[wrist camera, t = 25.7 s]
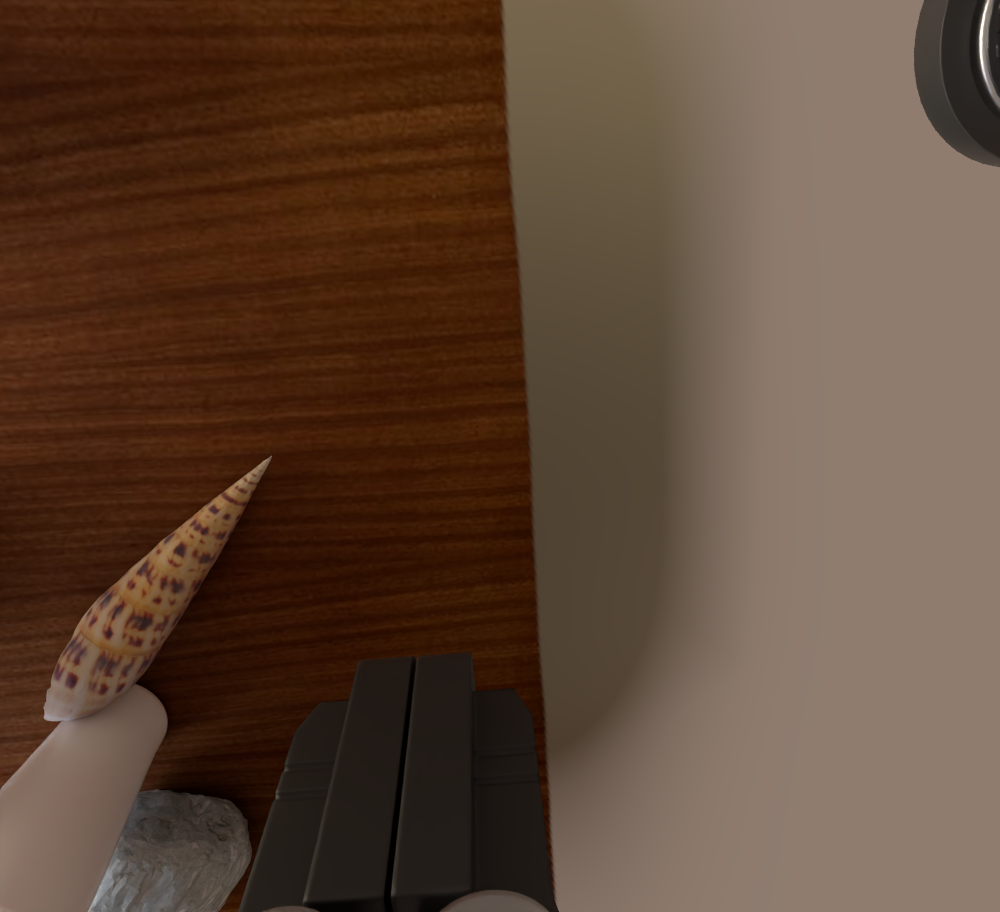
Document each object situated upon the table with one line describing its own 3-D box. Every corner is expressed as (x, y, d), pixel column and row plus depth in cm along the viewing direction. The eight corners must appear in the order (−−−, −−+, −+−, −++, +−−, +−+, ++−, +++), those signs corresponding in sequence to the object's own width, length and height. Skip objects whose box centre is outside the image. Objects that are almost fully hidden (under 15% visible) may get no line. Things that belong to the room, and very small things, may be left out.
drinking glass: (91, 765, 46) (-74, 1024, 32) (49, 676, 44) (-150, 914, 30) (198, 747, 46) (79, 1000, 32) (162, 656, 43) (15, 887, 29)
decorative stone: (130, 743, 46) (83, 824, 40) (280, 810, 48) (255, 894, 42) (47, 879, 49) (-7, 970, 44) (190, 934, 52) (156, 1027, 46)
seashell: (52, 649, 43) (1, 707, 38) (246, 430, 39) (215, 465, 34) (119, 692, 44) (77, 753, 40) (313, 484, 40) (292, 525, 35)
